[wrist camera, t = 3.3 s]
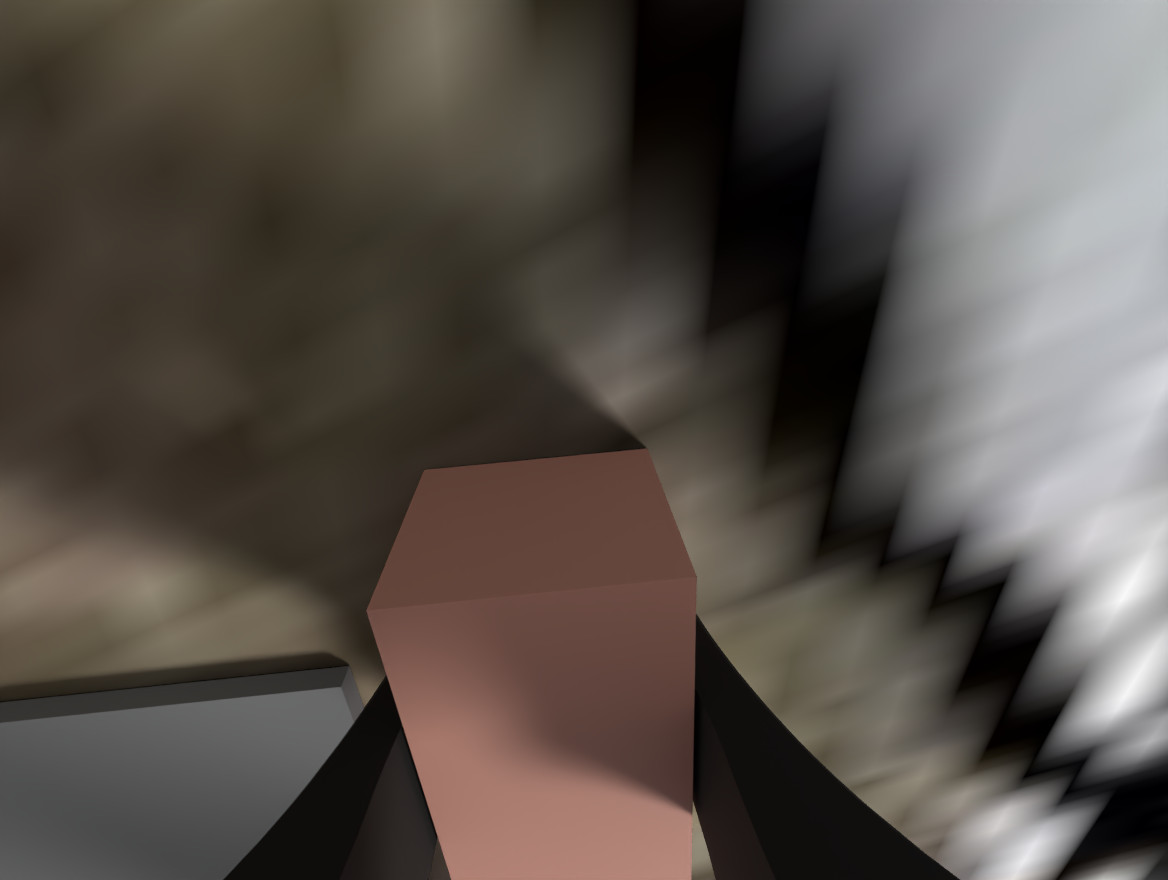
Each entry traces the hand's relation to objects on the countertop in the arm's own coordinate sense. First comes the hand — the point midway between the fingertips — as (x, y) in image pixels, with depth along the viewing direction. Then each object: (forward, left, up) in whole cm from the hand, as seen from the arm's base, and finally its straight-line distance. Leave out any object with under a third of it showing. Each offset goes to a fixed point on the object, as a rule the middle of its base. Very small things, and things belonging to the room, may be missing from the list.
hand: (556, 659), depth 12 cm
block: (0, 0, -1) cm, 1 cm away
